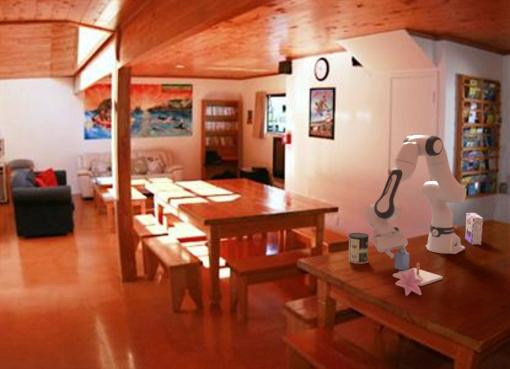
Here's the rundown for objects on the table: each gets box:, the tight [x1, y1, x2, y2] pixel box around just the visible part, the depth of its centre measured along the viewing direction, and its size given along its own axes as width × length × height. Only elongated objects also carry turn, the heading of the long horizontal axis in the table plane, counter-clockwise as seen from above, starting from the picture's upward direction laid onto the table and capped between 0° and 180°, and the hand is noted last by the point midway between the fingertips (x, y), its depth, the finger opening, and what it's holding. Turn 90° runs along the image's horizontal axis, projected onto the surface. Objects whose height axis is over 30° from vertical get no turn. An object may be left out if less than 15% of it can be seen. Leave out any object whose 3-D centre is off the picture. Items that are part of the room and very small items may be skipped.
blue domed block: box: [394, 249, 410, 272], centre depth 244 cm, size 5×5×9 cm
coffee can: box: [348, 232, 370, 265], centre depth 257 cm, size 10×10×14 cm
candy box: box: [464, 212, 484, 246], centre depth 292 cm, size 14×6×16 cm, turn 172°
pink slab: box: [392, 262, 443, 287], centre depth 231 cm, size 16×16×7 cm
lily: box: [395, 267, 422, 297], centre depth 213 cm, size 12×12×10 cm
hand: (399, 256), depth 245 cm, fingers open, 8 cm apart
